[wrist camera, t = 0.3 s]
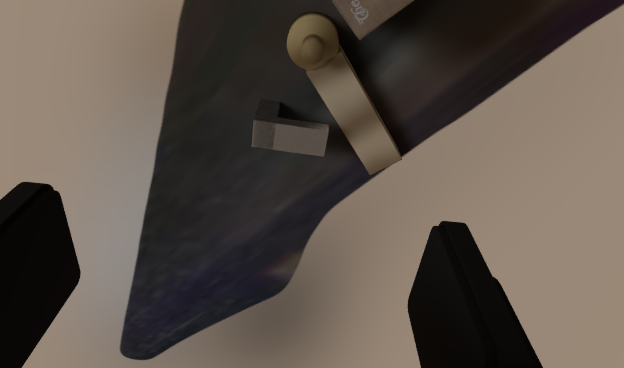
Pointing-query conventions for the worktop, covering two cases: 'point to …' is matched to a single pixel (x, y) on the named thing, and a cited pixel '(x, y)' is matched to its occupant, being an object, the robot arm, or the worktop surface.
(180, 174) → the worktop surface
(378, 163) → the pivot link
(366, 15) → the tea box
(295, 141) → the hook
